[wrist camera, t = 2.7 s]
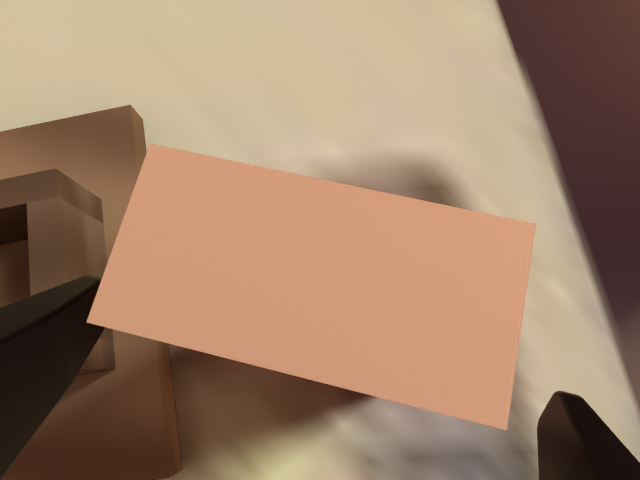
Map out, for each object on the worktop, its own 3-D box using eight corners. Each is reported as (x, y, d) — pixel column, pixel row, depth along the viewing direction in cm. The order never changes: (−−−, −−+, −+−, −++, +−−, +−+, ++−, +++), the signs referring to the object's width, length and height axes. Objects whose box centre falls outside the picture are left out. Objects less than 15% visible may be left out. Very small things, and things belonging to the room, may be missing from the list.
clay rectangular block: (395, 385, 17) (507, 429, 5) (262, 351, 18) (86, 322, 6) (408, 319, 18) (535, 224, 6) (279, 289, 18) (149, 144, 6)
